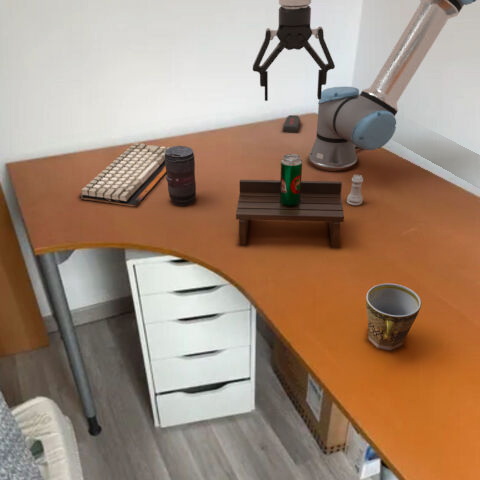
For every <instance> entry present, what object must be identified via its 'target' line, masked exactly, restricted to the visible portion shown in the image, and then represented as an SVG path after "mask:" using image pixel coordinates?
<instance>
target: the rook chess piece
mask: <svg viewBox="0 0 480 480" xmlns="http://www.w3.org/2000/svg"><path fill="white" fill-rule="evenodd" d="M351 181H352V183H351V189H350V193H349V194H348V195H347V198H346V202H347V204H348V205H349V206H352V207H353V206H354V207H356V206H360V205H362V203H363V201H364V198H363V195H362V186H363V184H362V183H363V182H364V178H363V175H361V174H354V175H352V178H351Z"/></svg>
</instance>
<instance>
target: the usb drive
mask: <svg viewBox="0 0 480 480" xmlns="http://www.w3.org/2000/svg"><path fill="white" fill-rule="evenodd" d="M300 124H301V118H300V116H299V115H294V114H293V115H292V114H290V115H288V116H287V117H286V118H285V120H284V124H283V127H282V132H283V133H298V132H299V128H300Z"/></svg>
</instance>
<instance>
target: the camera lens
mask: <svg viewBox="0 0 480 480" xmlns="http://www.w3.org/2000/svg"><path fill="white" fill-rule="evenodd" d="M169 147H170V148H168V147H167V148H168V149H166V150H165V167H166V171H167V172H166V174H165V179H166V183H167V191H168V196H169V198H170V200H171V203H172V204H173V205H175V206H182V207H183V206H188V205H191V204H193V203H194V202H195V200H196V195H197V192H196V191H197V184H196V183H197V181H196V173H195V171H196V170H195V169H196V163H195V162H196V161H195V154H194V150H193V148H191V147H190V146H184V145H174V146H169Z"/></svg>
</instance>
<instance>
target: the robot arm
mask: <svg viewBox="0 0 480 480" xmlns="http://www.w3.org/2000/svg"><path fill="white" fill-rule="evenodd" d="M476 1H477V0H419V2H420V3H419V5H418V6H417V8H416V10H415V12H414V13H413V15H412V17H411V18H410V20H409V21H408V23H407V25H406V27H405V28H404V30H403V32H402V33H401V35H400V37H399V38H398V39H397V42H396V43H395V45H394V47H393V48H392V50H391V52H390V54H389V55H388V57H387V59H386V61H385V62H384V64H383V66H382V67H381V69H380V70H379V71H378V74H377V75H376V77H375V79H374V80H373V82H372V84H371V86H369V87H368V88H365V89H362V90H361V92H360V89H359V88H357V87H356V86H355V87H353V86H333V87H332V86H331V87H327V88H325V89H322V88H323V86H327V85H326V84H327V78H328V77H327V76H328V71H330V70H334V69H335V68H336V65H335V62H334V60H333V57H332V55H331V52H330V50H329V47H328V46H327V43H326V40H325V38H324V36H325V35H324V34H325V33H324V28H323V27H322V26H318V27H317V28H311V19H312V18H311V17H312V15H311V14H312V7H311V6H310V5H311V4H312V0H278V5H280V7H279V8H278V27H277V30H276V29H271V28H270V27H269V28H266V29H265V35H264V40H263V41H262V44H261V46H260V48H259V51H258V53H257V55H256V57H255V59H254V63H253V64H252V71H253V72H256V73H258V74H259V85H260V87H261V88H262V87H264V101H265V102H268V101H269V88H268V83H269V82H268V81H269V80H268V79H269V78H268V77H269V76H268V74H269V73H268V69H269V68H270V66H271V65H272V64H273V63H274V62H275V60H276V59H277V57H278V56H279V55H280V53H282V52H283V50H284V49H286V50H287V51H291V50H298V51H299V50H301V49H305V51H306V52H307V53H308V54H309V56H310V57H311V58H312V59H313V61H314V62H315V63H316V65H317V66H318V67H319V68H320V69H318V75H317V95H316V96H317V100H318V103H317V104H318V110H317V121H316V122H317V124H316V137H315V140H314V143H313V145H312V146H311V150H310V152H309V156H308V163H309V164H310V165H311V167H314V168H315V169H318V170H321V171H325V172H344V171H350V170H351V169H353V168H355V167H356V165H357V164H358V163H357V162H358V155H357V151H356V150H359V149H363V150H366V151H376V150H377V149H381V148H382V147H384V146H385V145H386V144H388V143H389V142H390V140H391V139H392V138H393V136H394V134H395V132H396V128H397V126H396V125H397V118H396V115H397V113H398V111H399V109H398V102H399V100H400V99H401V96H402V95H403V94H404V92H405V90H406V89H407V87H408V85H409V84H410V82H411V80H412V79H413V77H414V75H415V74H416V72H417V71H418V69H419V67H420V66H421V64H422V63H423V61H424V59H425V58H426V56H427V55H428V53H429V51H430V50H431V48H432V46H433V45H434V43H435V42H436V40H437V38H438V36H439V35H440V33H441V32H442V30H443V28H444V26H445V25H446V24H447V22H448V21H449V19H452V18H455V17H457V16H458V15H459V13H460V12H461V11H462V10H463V7H464V6H467V5H471V4H473V3H475V2H476ZM312 36H314V38H315V39H317V40H318V42H319V45H320V47H321V49H322V52H323V54H324V57H325V59H326V62H327V63H325V62H324V60H322V58H321V57H320V55H319V54H318V53H317V50H315V48H313V46H312V45H311V43H310V42H309V40H310V39H311V37H312ZM275 37H277V39H278V40H279V42H278V44H277V45H276V47H274V49H273V50H272V52H271V53H270V54H269V56H268V57H267V58H266V60H264V62H263V64H262V65H261V63H262V61H263V59H264V56H265V54H266V51H267V50H268V47H269V45H270V42H271V41H272V40H274V38H275Z"/></svg>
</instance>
